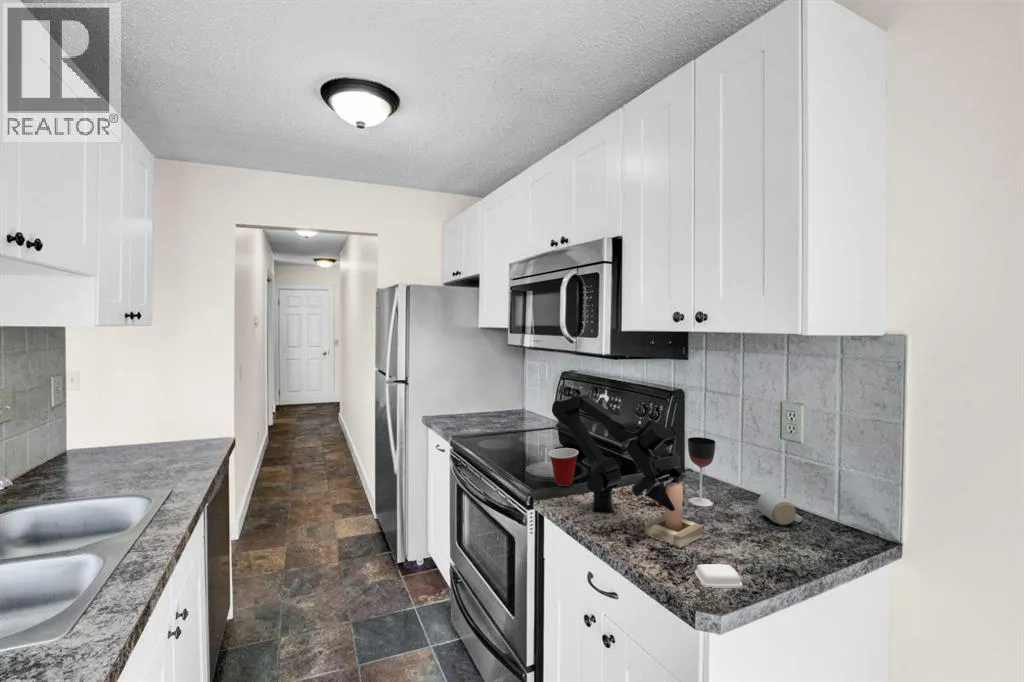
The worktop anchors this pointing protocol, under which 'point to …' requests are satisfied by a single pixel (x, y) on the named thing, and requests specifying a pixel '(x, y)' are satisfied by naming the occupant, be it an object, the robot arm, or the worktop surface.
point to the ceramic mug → (777, 508)
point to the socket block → (680, 538)
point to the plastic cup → (563, 464)
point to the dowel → (674, 517)
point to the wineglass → (701, 461)
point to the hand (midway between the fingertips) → (678, 508)
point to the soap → (718, 576)
